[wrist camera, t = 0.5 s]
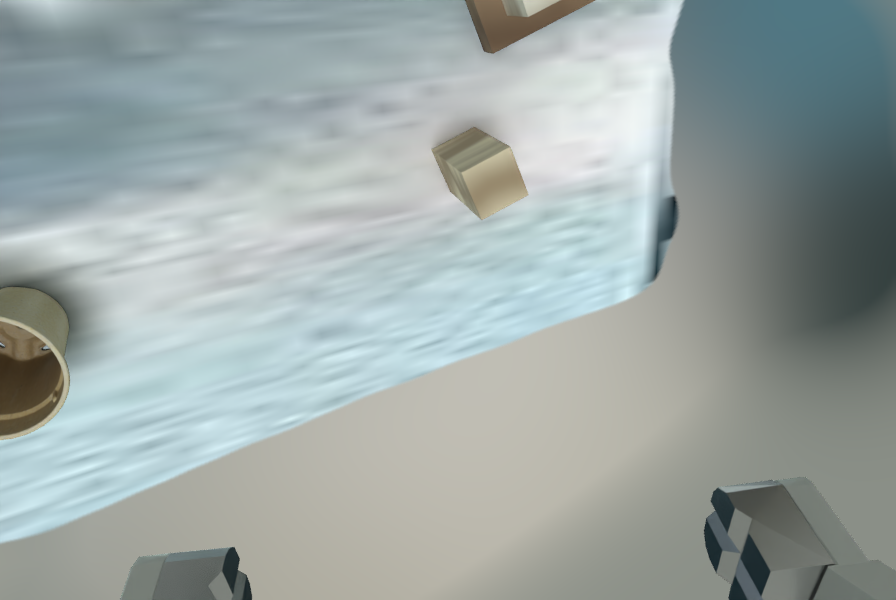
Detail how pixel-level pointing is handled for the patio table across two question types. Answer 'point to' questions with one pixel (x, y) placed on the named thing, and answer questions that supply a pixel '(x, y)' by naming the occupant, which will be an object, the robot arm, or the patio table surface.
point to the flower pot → (31, 360)
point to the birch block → (480, 172)
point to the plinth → (515, 18)
